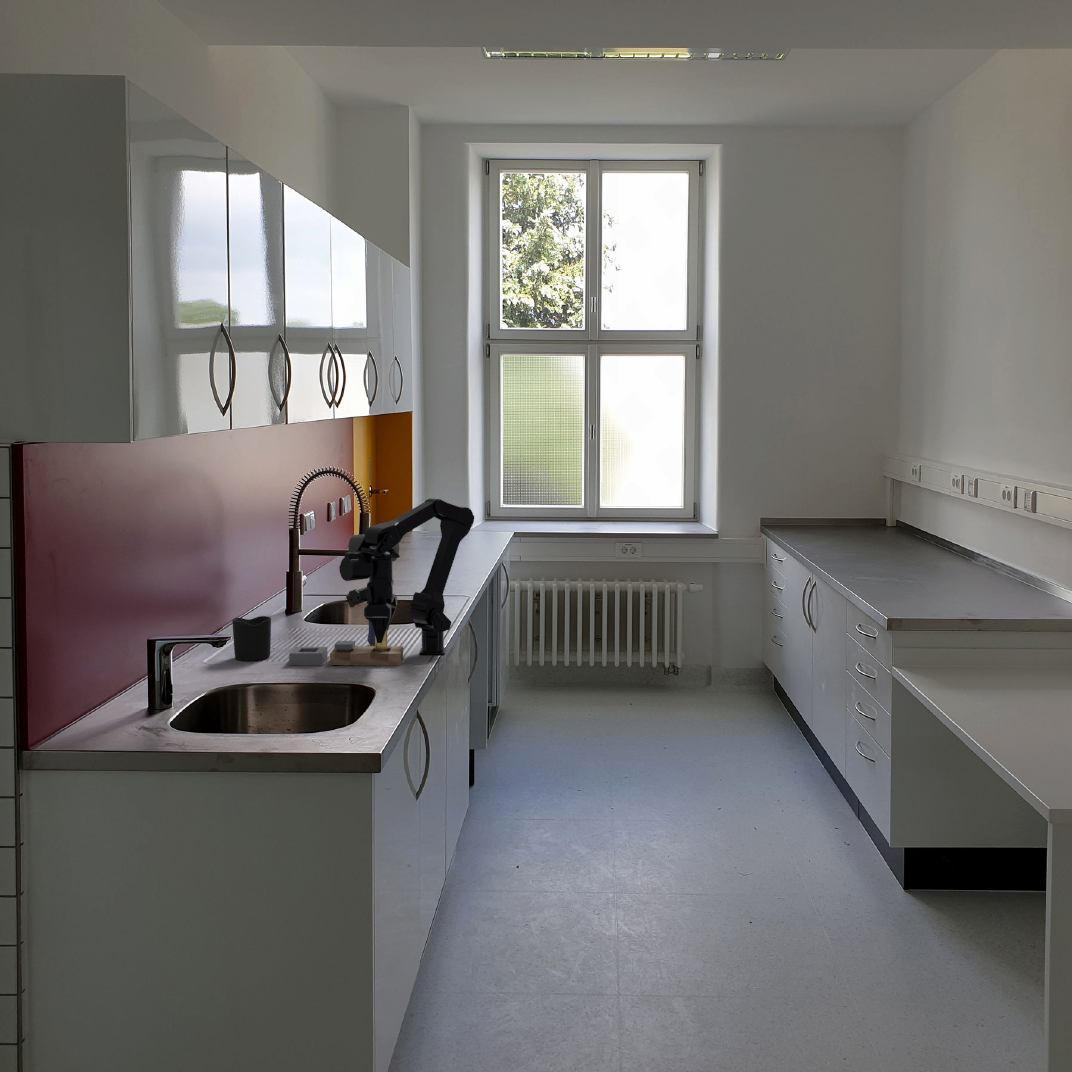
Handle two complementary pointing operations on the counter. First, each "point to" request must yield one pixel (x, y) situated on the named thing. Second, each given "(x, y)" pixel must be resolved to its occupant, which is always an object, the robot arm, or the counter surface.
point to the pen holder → (252, 638)
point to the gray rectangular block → (344, 645)
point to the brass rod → (381, 644)
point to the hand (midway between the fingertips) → (381, 639)
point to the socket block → (367, 656)
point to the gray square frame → (308, 656)
